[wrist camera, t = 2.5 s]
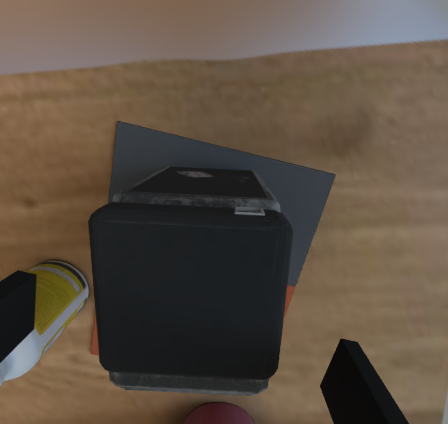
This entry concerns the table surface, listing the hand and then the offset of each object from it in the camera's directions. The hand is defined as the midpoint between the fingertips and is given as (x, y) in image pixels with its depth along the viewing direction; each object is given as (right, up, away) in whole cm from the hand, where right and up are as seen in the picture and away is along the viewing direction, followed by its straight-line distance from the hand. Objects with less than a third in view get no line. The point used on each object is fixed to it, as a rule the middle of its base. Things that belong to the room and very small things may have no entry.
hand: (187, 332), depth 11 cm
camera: (0, +4, +14) cm, 15 cm away
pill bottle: (-16, -3, +17) cm, 23 cm away
